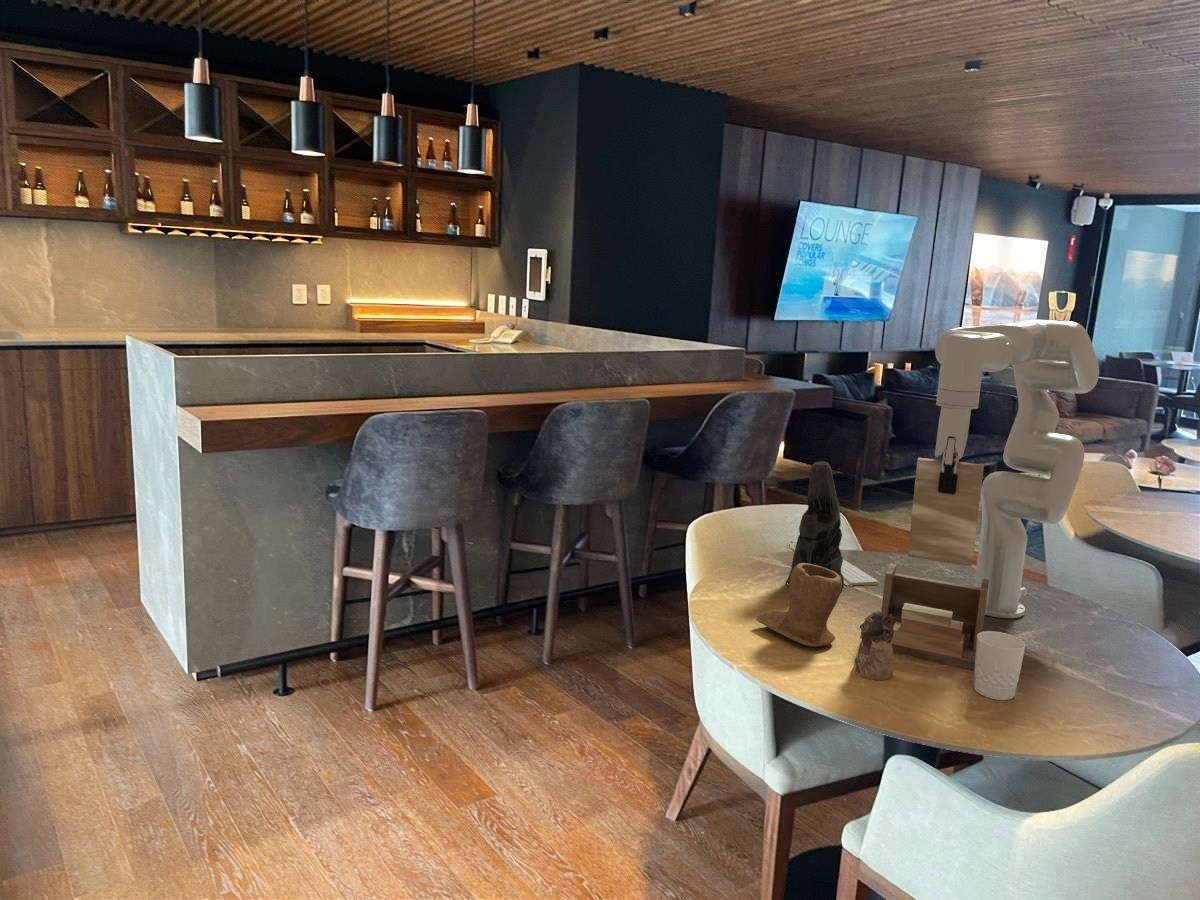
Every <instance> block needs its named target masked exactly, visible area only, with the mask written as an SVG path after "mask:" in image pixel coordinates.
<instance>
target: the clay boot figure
mask: <svg viewBox="0 0 1200 900" xmlns="http://www.w3.org/2000/svg"><path fill="white" fill-rule="evenodd" d="M790 572H791V571H790ZM841 589H842V580H841V577H840V576H839V575H838V574H837V573H836V572H834V571H832V570H829V569H827V568H824V567H821V566H817V565H813V564H808V563H800V564H798V565H796V566H795V567H794V569H793V570H792V572H791V576H790V582H789V585H788V599H789V602H788V603H789V605H788V611H787V610H781V609H770V610H766V611H764V612H762V613H760V614H758V615H757V617H756V621H757V622H758V623H760V624H762V625H764V626H765V627H767V628H769V629H770V630H772V631H774V632H776V633H778V634H780V635H782V636H784V637H786V638H787V639H790V640H791V641H794V642H797V643H798V644H801V645H804V646H806V647H813V648H814V647H815V648H816V647H817V648H818V647H823V646H828V645H830V644H832V643H833V642H834V641H835V639H836V636H835V635H834V633H832V632H831V630H829V629H828V625H827V624H828V620H829V617H830V615H831V614H832V612H833V610H834V609H835V606H836V605H837V602H838V600H839V597H840V596H841V593H842V591H841ZM842 590H843V589H842Z"/></svg>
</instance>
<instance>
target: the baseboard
mask: <svg viewBox="0 0 1200 900" xmlns="http://www.w3.org/2000/svg"><path fill="white" fill-rule="evenodd" d="M790 543H791V544H793V541H791V542H790ZM791 544H787V545H786V547H787V548H788V549H791V550H792V551H794V552H795V548H796V544H795V545H793V546H790V545H791ZM841 573H842V575H843V576H844V584H845V585H864V586H878V585H879V582H880V581H879V580H878V579H876V578H874V577H872V576H871V575H869V574H868V573H867V572H864V571H863V570H861V569H860V568H858V567H856V566H855V565H853V564H852V563H850V562H848V561H847V560H845V559H844V558H843V562H842V566H841ZM845 585H844V586H845Z"/></svg>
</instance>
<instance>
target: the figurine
mask: <svg viewBox="0 0 1200 900" xmlns="http://www.w3.org/2000/svg"><path fill="white" fill-rule="evenodd" d="M893 619H894V616H893V615H892V614H890V615H888V616H886V617H885V618H884V617H883V614H882V612H881V611H880V610H876V611H873V612H871V613H870V614H868V615H867V616H866V617H865V618H864V621H863V623H861V624H860V625H859V629H860V631H861V632H860V637H859V638H860V639H861V641H860V643H859V646H858V649H857V653H856V656H855V659H854V662H853V667H852V670H853V671H854V672H855V675H857V676H859V677H860V678H863V679H867V680H871V681H884V680H885V681H886V680H889V679H891V678H892V676H893V673H894V670H895V669H894V668H895V663H894V662H895V661H894V660H895V659H894V653H893V649H892V644H891V640H892V638H893V635H894V629H893V626H892V625H891V623H890V621H892V620H893ZM884 630H888V631H889V632H890V636H888V635H887V634H885V633H884V632H883V631H884Z"/></svg>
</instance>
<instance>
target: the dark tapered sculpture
mask: <svg viewBox="0 0 1200 900" xmlns="http://www.w3.org/2000/svg"><path fill="white" fill-rule="evenodd" d="M807 505H808V506H807V509H806V511H805V512H804V513H803V514H802V516H801V518H800V519H801V520H800V524H799V528H798V530H799V531H798V532H799V535H798V537H797V539H796V544H795V545H796V548H795V551H794V553H793V557H792V563H791V569H790V572H789V573H788V577H787V579H786V582H787V583H788V584H789V582H790V576H791V572H792V570H793V569H794V567H795V566H796V565H798V564H800V563H808V564H813V565H817V566H821V567H824V568H827V569H829V570H832V571H834V572H836V573H837V574H838V575H839V576H840V577H841V580H842V589H841V592H842V591H843V589H844V586H845V585H844V576H843V575H842V573H841V566H842V562H843V559H844V558H843V555H842V552H841V549H840V546H841V541H842V537H843V533H842V530H841V524H842V523H841V509H840V502H839V500H838V496H837V491H836V485H835V481H834V477H833V470H832V467H831V465H830V464H829V462H828V461H824V460H822V461H814V462H813V464H812V466H811V468H810V471H809V482H808V489H807ZM787 583H786V584H787Z"/></svg>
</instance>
